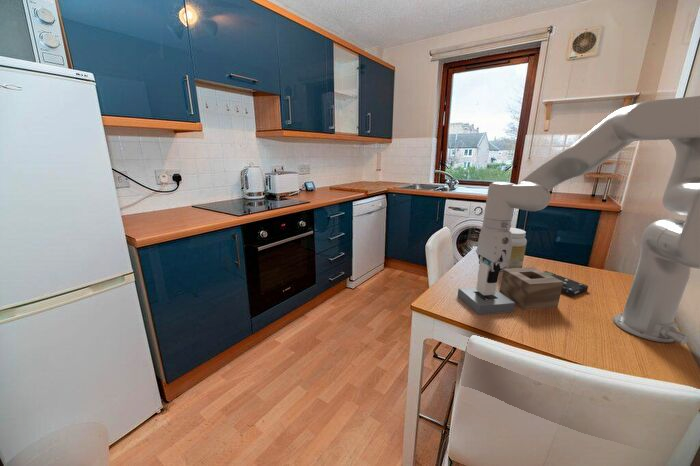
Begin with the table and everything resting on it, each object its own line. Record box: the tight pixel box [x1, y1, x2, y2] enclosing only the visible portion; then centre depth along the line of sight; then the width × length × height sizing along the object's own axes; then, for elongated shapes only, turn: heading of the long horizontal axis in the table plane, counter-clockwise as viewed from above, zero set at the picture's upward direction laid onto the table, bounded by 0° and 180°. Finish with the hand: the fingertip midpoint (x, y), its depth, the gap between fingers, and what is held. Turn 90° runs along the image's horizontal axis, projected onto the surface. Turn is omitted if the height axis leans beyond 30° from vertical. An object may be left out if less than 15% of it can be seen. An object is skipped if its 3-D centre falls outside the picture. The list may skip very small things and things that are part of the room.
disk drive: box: [544, 271, 589, 298], centre depth 107 cm, size 10×3×15 cm
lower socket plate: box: [457, 286, 516, 316], centre depth 93 cm, size 12×12×3 cm
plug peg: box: [476, 259, 498, 295], centre depth 91 cm, size 4×4×11 cm
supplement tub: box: [500, 227, 528, 272], centre depth 121 cm, size 12×12×17 cm
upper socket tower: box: [498, 266, 563, 311], centre depth 95 cm, size 12×12×9 cm
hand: (487, 278), depth 91 cm, fingers closed on plug peg, 4 cm apart
